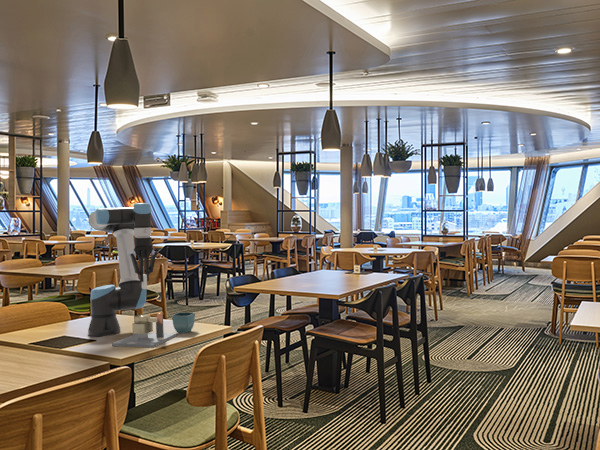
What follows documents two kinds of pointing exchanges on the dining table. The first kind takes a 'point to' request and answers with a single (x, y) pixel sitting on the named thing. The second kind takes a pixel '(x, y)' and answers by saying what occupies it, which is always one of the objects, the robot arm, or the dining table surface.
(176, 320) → the flower pot
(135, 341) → the grey flat base fixture
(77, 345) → the dining table surface
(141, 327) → the beige stepped block
